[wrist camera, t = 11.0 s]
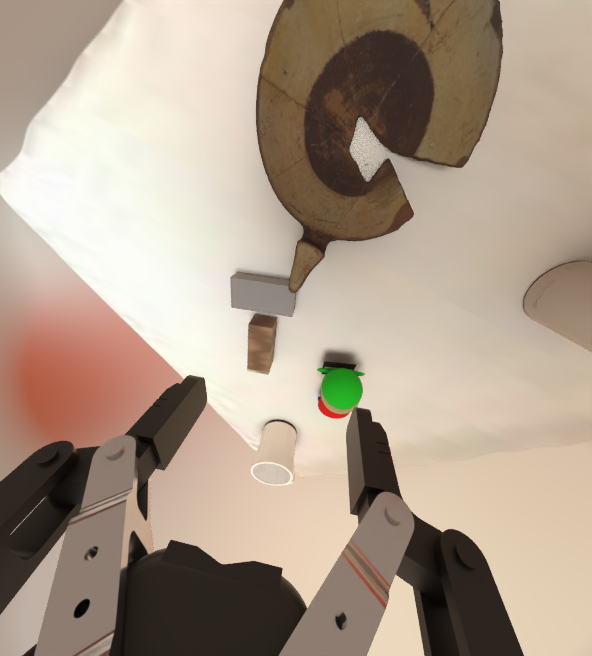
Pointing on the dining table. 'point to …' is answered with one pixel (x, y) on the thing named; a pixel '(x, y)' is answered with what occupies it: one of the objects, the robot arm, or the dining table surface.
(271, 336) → the block
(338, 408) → the toy
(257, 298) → the hammer head
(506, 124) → the dining table surface
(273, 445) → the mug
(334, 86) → the oil lamp
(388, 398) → the dining table surface
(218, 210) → the dining table surface
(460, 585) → the robot arm
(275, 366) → the dining table surface
